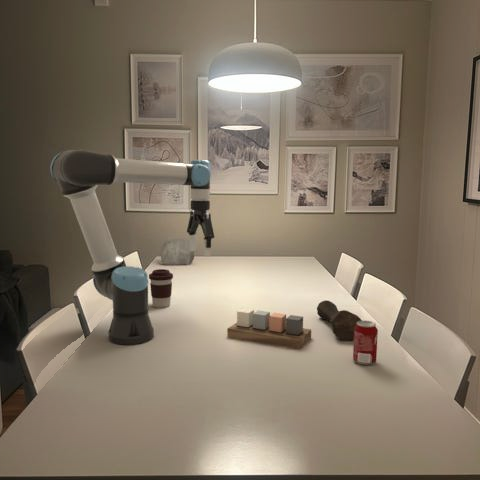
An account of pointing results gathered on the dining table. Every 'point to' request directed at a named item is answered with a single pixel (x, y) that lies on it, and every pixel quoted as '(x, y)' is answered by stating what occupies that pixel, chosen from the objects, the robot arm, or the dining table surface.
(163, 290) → the coffee cup
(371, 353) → the soda can
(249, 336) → the wooden block tray
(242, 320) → the key ivory
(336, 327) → the dark brown bone
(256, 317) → the light grey block
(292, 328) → the dark gray block
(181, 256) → the decorative stone
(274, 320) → the key terracotta
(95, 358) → the dining table surface
